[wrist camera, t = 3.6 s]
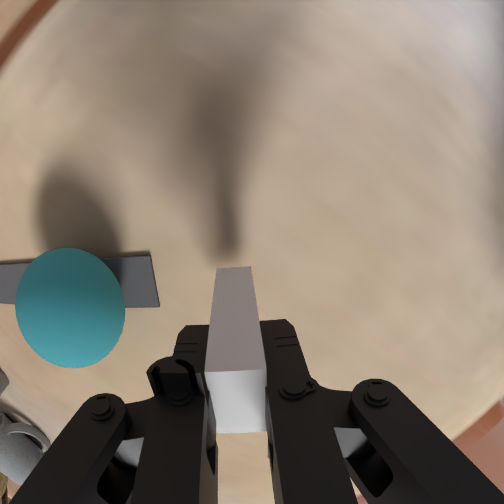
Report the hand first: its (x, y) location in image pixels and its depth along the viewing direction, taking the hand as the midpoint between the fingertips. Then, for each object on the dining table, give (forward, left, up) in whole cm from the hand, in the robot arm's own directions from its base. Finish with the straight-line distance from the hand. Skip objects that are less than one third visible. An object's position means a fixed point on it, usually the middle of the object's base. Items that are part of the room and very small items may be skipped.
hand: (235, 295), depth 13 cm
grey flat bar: (+12, 0, -2) cm, 13 cm away
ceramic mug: (+28, +21, -3) cm, 35 cm away
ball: (+8, 0, +1) cm, 8 cm away
